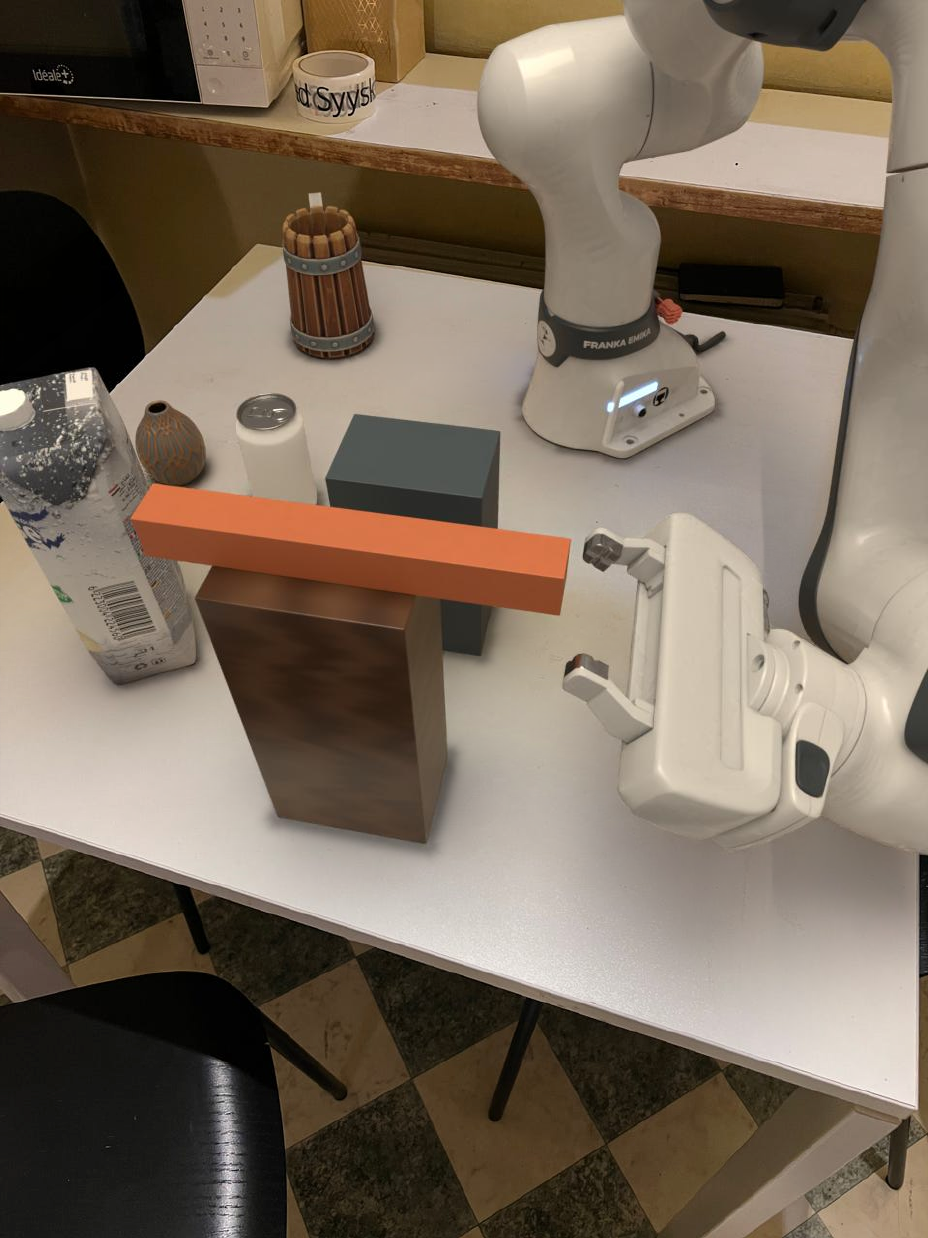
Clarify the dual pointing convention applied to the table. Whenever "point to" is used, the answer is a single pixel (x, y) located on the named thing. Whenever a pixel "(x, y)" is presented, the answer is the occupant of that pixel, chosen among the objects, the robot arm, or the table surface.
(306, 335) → the mug
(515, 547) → the rod
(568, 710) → the table surface
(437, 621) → the tall stand
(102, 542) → the juice carton
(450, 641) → the lower stand
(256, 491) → the can
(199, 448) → the vase
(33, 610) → the table surface
